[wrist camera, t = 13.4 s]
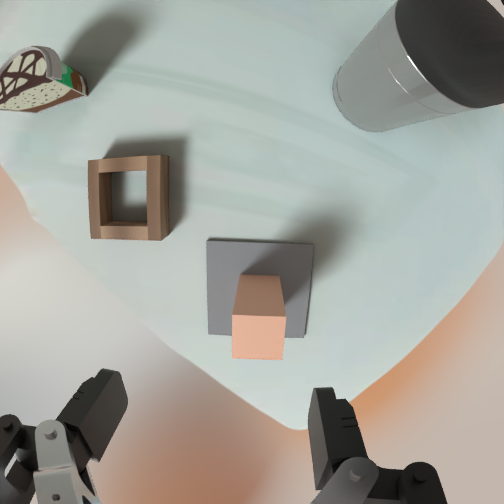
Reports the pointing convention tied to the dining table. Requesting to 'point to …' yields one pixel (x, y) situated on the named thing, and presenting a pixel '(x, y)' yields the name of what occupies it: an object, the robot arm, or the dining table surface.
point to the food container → (38, 81)
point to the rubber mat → (258, 263)
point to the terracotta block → (258, 318)
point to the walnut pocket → (156, 198)
